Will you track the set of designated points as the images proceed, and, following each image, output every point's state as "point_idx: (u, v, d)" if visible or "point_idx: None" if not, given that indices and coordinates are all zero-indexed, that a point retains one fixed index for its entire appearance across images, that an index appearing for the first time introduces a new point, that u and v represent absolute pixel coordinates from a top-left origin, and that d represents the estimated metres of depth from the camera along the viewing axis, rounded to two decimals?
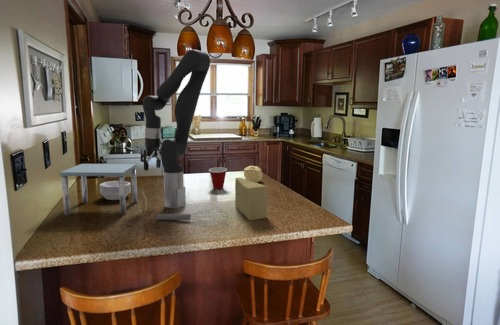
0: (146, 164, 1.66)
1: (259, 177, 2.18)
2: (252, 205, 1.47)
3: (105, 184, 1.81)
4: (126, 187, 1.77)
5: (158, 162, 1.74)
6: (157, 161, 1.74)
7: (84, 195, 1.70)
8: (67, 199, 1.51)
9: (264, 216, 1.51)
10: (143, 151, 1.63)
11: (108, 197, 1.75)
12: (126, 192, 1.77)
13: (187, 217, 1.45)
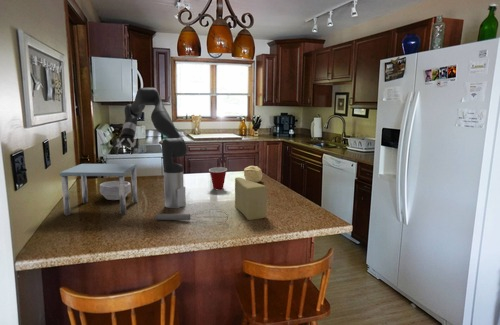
0: (115, 148, 1.96)
1: (259, 177, 2.18)
2: (251, 205, 1.47)
3: (105, 184, 1.81)
4: (126, 187, 1.77)
5: None
6: None
7: (84, 195, 1.70)
8: (67, 199, 1.51)
9: (263, 216, 1.51)
10: None
11: (108, 197, 1.75)
12: (126, 192, 1.77)
13: (187, 217, 1.45)
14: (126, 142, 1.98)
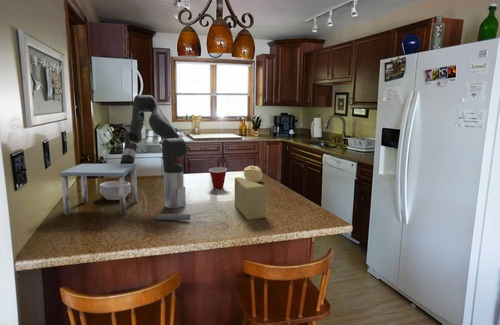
0: None
1: (259, 177, 2.18)
2: (250, 205, 1.48)
3: (105, 184, 1.81)
4: (126, 187, 1.77)
5: None
6: None
7: (84, 195, 1.70)
8: (67, 199, 1.51)
9: (263, 216, 1.52)
10: None
11: (108, 197, 1.75)
12: (126, 192, 1.77)
13: (187, 217, 1.44)
14: None
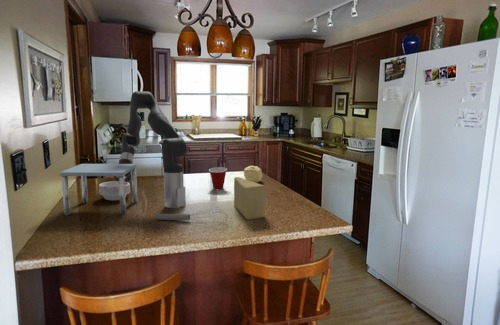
0: None
1: (259, 177, 2.18)
2: (249, 205, 1.48)
3: (104, 184, 1.80)
4: (125, 187, 1.76)
5: None
6: None
7: (84, 195, 1.70)
8: (67, 199, 1.51)
9: (262, 215, 1.52)
10: None
11: (107, 197, 1.74)
12: (125, 192, 1.76)
13: (186, 217, 1.44)
14: None
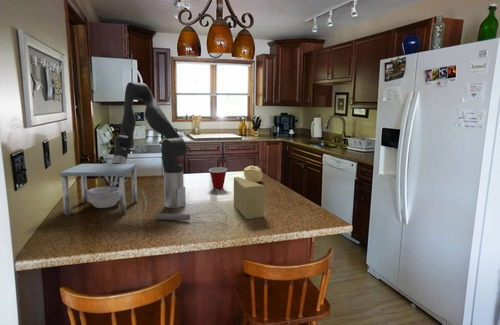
0: None
1: (259, 177, 2.18)
2: (248, 204, 1.49)
3: (94, 190, 1.68)
4: (115, 194, 1.63)
5: None
6: None
7: (84, 195, 1.70)
8: (67, 199, 1.51)
9: (261, 215, 1.52)
10: (103, 179, 1.79)
11: (95, 205, 1.62)
12: (115, 200, 1.63)
13: (186, 217, 1.44)
14: (113, 177, 1.79)
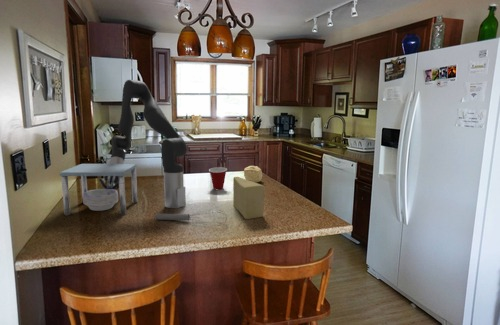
0: None
1: (259, 177, 2.18)
2: (248, 204, 1.49)
3: (90, 192, 1.64)
4: (112, 197, 1.58)
5: None
6: None
7: None
8: (67, 199, 1.51)
9: (260, 215, 1.53)
10: None
11: (92, 207, 1.57)
12: (112, 202, 1.59)
13: (186, 217, 1.44)
14: (110, 179, 1.75)
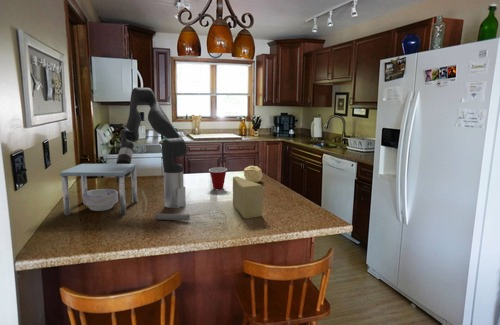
0: (117, 177, 1.87)
1: (259, 177, 2.18)
2: (247, 204, 1.49)
3: (90, 193, 1.64)
4: (112, 197, 1.58)
5: None
6: None
7: None
8: (67, 199, 1.51)
9: (259, 214, 1.53)
10: None
11: (92, 208, 1.57)
12: (112, 202, 1.59)
13: (186, 217, 1.44)
14: None
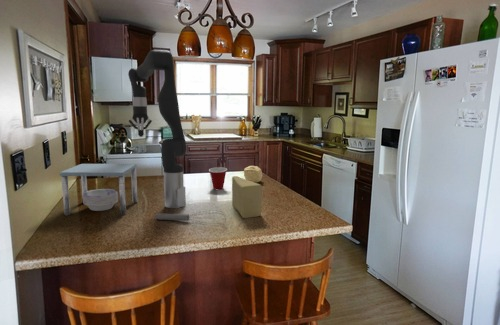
0: (138, 131, 1.92)
1: (259, 177, 2.18)
2: (245, 203, 1.50)
3: (90, 193, 1.64)
4: (112, 197, 1.58)
5: None
6: None
7: None
8: (67, 199, 1.51)
9: (258, 214, 1.54)
10: (129, 121, 1.90)
11: (92, 208, 1.57)
12: (112, 202, 1.59)
13: (185, 218, 1.44)
14: (139, 120, 1.91)
